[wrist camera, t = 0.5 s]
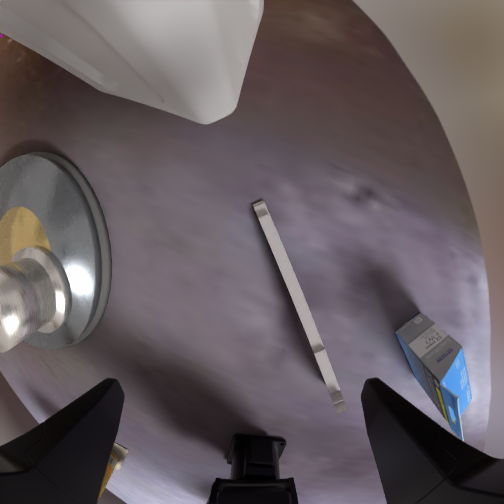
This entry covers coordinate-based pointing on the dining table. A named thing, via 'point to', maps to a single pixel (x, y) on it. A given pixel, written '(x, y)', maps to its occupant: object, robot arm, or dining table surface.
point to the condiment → (113, 463)
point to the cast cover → (32, 295)
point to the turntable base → (101, 232)
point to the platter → (52, 235)
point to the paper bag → (146, 47)
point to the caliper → (300, 305)
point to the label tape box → (437, 367)
